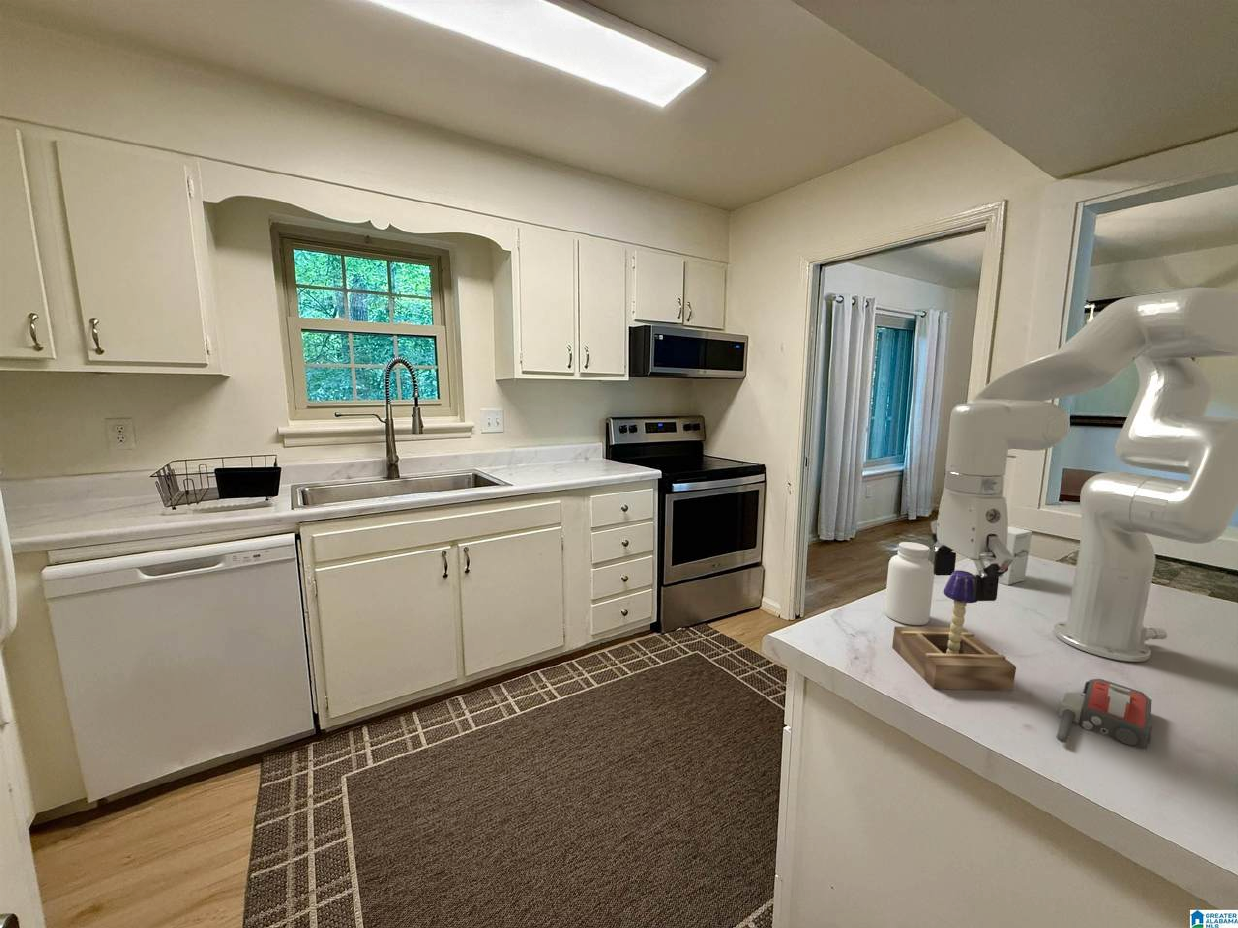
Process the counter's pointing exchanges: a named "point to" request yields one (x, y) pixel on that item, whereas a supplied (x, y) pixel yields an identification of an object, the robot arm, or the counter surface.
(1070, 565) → the counter surface
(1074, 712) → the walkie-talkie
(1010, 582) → the supplement box
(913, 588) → the pill bottle
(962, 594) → the toy lamp
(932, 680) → the tan wooden square frame
